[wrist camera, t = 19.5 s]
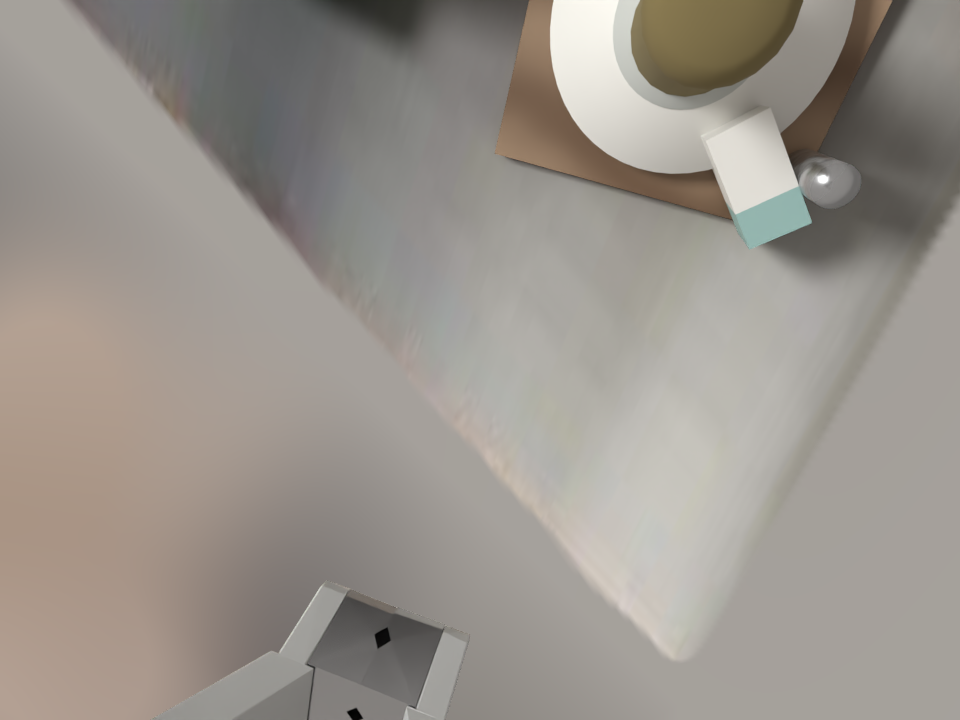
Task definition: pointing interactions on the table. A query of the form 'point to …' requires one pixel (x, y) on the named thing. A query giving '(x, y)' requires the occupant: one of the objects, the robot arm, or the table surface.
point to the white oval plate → (699, 108)
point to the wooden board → (565, 148)
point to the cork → (708, 41)
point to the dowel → (825, 178)
